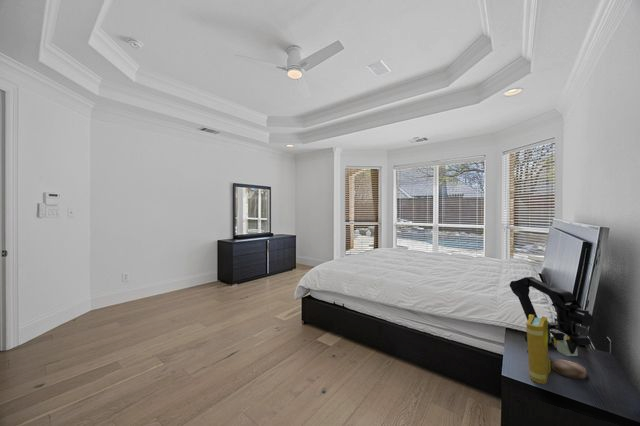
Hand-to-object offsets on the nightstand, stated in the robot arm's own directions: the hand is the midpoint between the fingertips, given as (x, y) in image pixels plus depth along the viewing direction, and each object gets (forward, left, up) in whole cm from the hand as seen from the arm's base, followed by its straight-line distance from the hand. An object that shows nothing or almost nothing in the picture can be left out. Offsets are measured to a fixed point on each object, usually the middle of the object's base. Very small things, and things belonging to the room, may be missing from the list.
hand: (567, 351), depth 124 cm
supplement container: (+11, +31, -10) cm, 34 cm away
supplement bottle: (+16, +22, -10) cm, 29 cm away
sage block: (0, 0, -1) cm, 1 cm away
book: (-15, -2, -10) cm, 18 cm away
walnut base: (0, 0, -10) cm, 10 cm away
